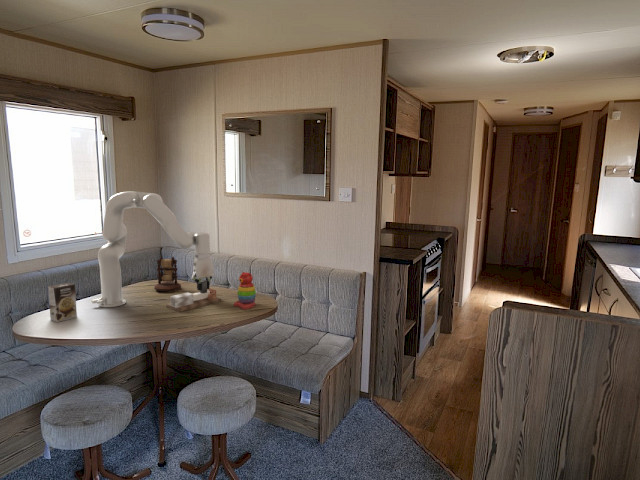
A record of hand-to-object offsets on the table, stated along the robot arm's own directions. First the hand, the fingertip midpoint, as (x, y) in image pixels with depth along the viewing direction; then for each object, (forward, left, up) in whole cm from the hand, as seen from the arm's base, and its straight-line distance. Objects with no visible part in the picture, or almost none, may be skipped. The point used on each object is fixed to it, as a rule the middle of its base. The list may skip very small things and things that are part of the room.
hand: (203, 289), depth 228 cm
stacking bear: (+11, -22, -7) cm, 26 cm away
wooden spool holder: (-1, +34, -7) cm, 35 cm away
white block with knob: (-4, 0, -5) cm, 6 cm away
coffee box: (-60, +24, -7) cm, 65 cm away
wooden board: (-6, 0, -7) cm, 9 cm away
